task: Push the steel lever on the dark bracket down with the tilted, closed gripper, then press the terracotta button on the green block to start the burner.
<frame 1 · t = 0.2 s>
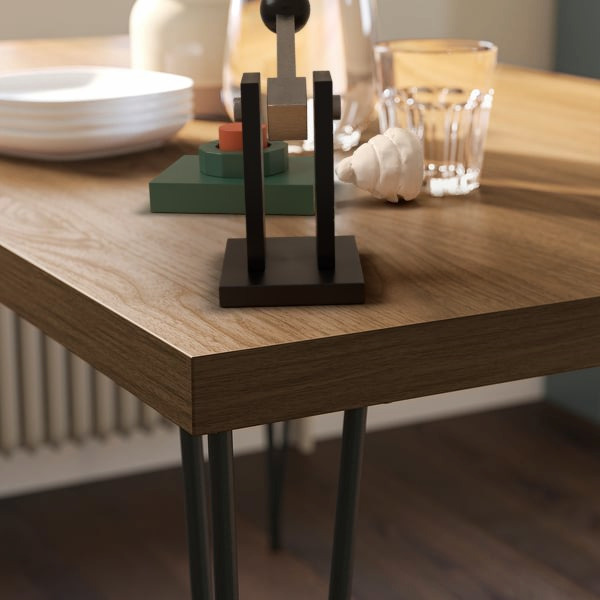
spiral seashell: (375, 205, 87), on the table
bracket: (291, 278, 69), on the table
button block: (245, 197, 89), on the table
lever: (286, 55, 70), point 12 cm above the table, hinge at 25.0°
button: (243, 138, 88), point 5 cm above the table, slide at 0.2 cm
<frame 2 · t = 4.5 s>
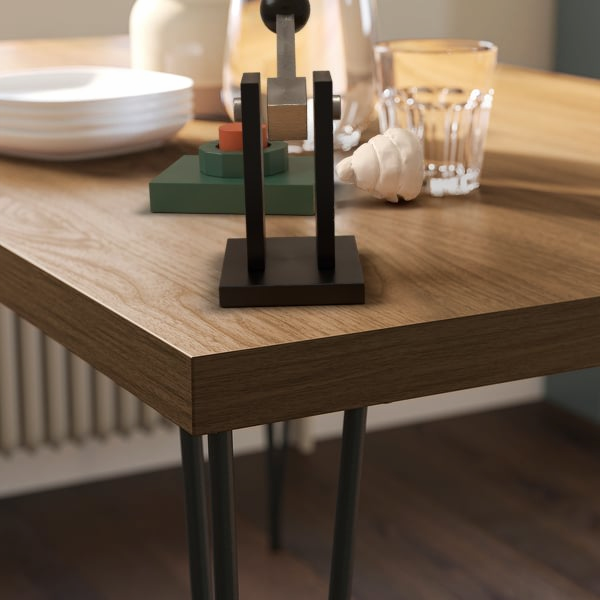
nothing on the table moved.
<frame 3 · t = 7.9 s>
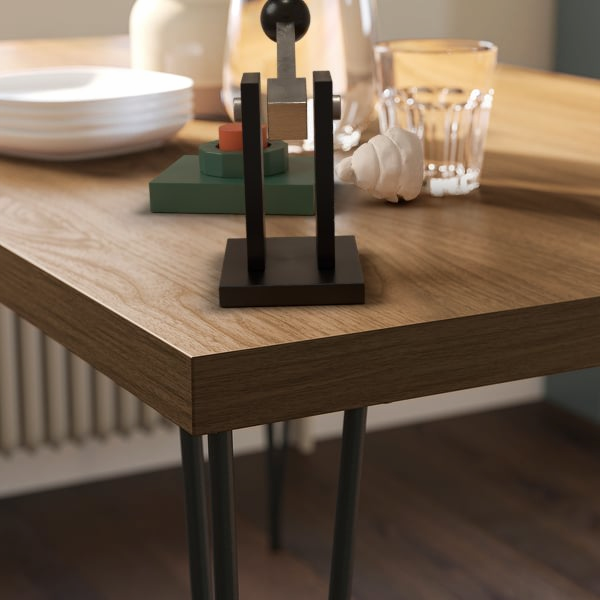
lever: (286, 60, 70), point 12 cm above the table, hinge at 21.7°, touching gripper
everything else where it was.
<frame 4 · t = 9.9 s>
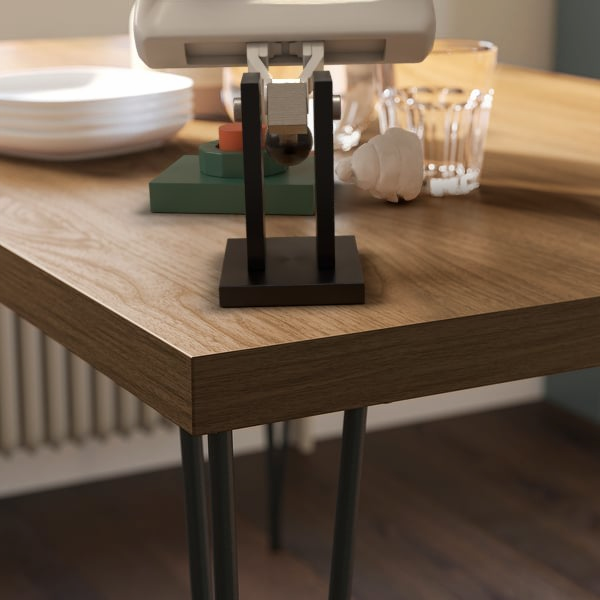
hand: (286, 109, 77), 8 cm above the table, tool tilted 45°, fingers closed, pressing on lever
lever: (288, 126, 72), point 8 cm above the table, hinge at -20.3°, touching gripper
everything else where it was.
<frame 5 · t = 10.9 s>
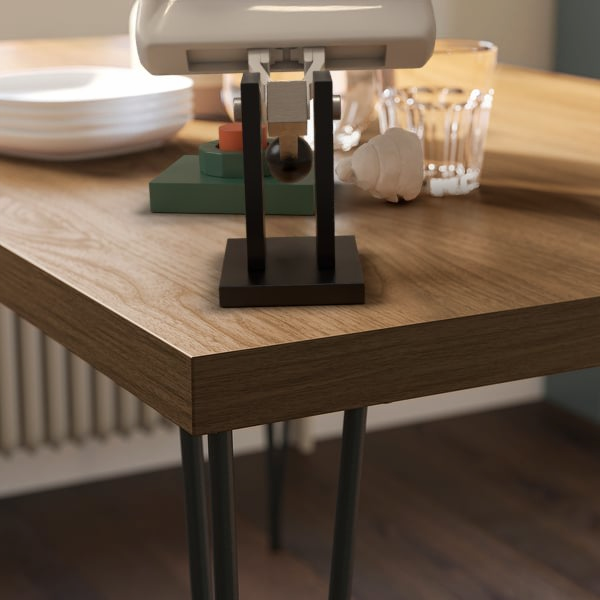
hand: (288, 115, 77), 8 cm above the table, tool tilted 45°, fingers closed
lever: (288, 136, 72), point 8 cm above the table, hinge at -26.2°
everything else where it was.
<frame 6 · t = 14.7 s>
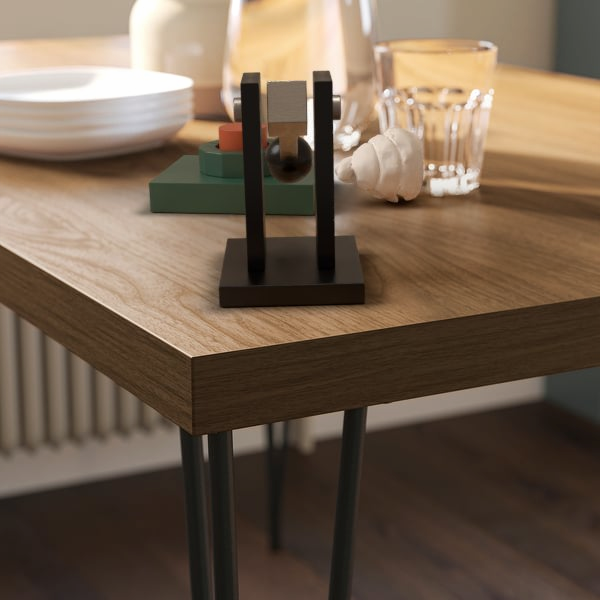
nothing on the table moved.
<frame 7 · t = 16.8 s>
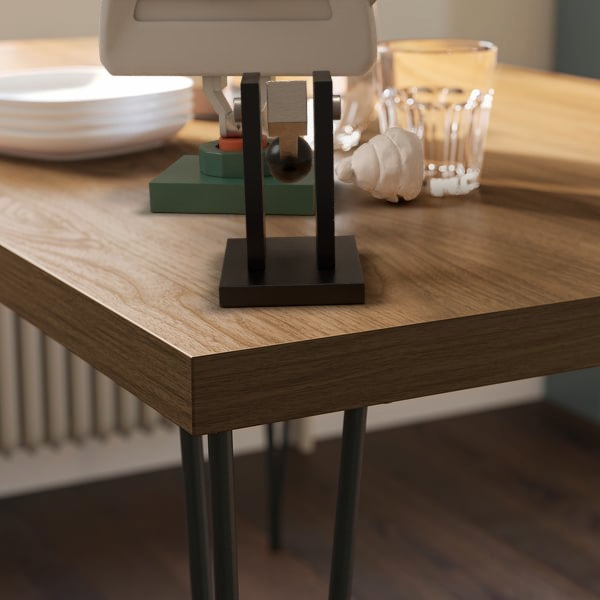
hand: (241, 136, 88), 5 cm above the table, tool pointing down, fingers closed, pressing on button
button: (243, 148, 88), point 4 cm above the table, slide at -0.6 cm, touching gripper
everything else where it was.
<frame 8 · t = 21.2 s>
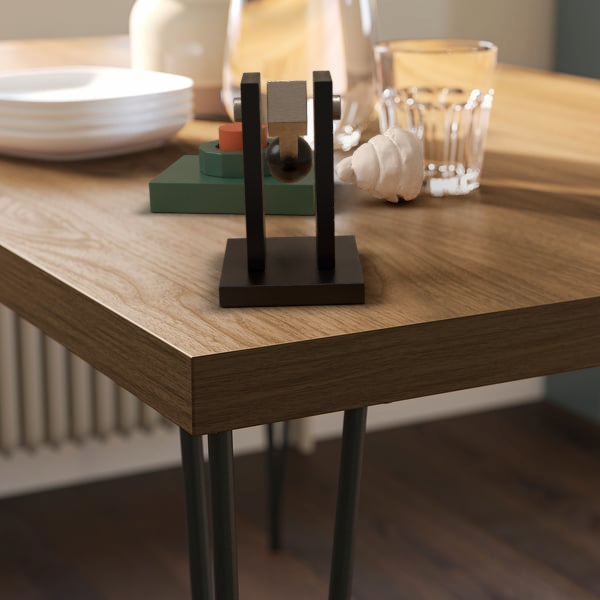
button: (243, 138, 88), point 5 cm above the table, slide at 0.1 cm
everything else where it was.
at the end: lever at -26° (first picture: +25°); button pushed in 1.0 cm at the most during the clip, back to where it started at the end; button slide at 0.1 cm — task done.
